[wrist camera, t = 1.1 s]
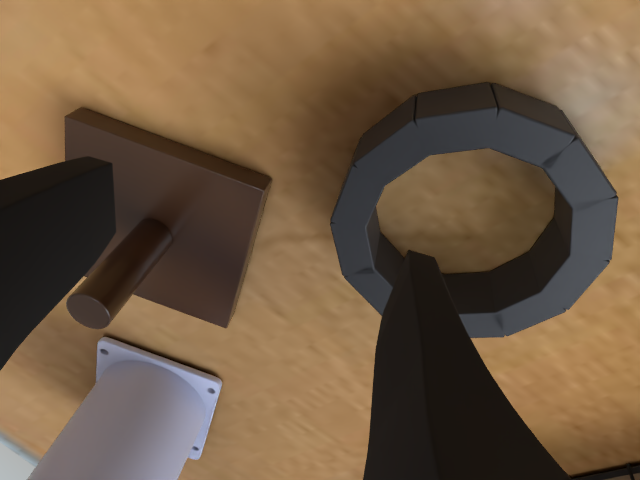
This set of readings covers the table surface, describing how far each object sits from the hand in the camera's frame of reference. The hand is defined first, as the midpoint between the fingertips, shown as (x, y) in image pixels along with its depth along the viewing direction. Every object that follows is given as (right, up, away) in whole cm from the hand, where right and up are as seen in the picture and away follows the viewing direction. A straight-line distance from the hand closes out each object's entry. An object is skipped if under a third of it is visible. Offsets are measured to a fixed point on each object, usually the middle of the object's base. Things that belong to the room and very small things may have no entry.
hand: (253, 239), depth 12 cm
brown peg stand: (-6, +1, +13) cm, 14 cm away
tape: (+8, +2, +9) cm, 12 cm away
